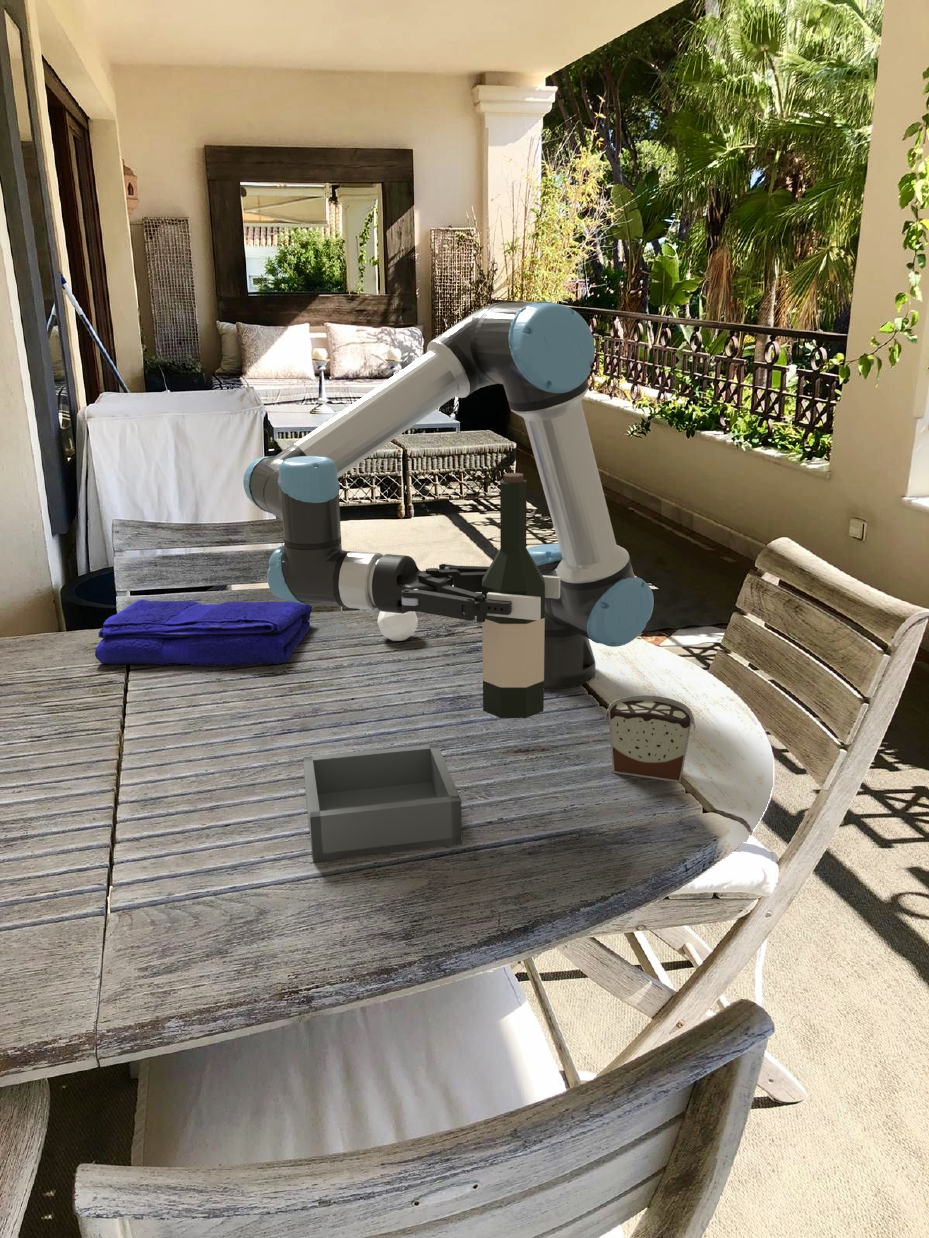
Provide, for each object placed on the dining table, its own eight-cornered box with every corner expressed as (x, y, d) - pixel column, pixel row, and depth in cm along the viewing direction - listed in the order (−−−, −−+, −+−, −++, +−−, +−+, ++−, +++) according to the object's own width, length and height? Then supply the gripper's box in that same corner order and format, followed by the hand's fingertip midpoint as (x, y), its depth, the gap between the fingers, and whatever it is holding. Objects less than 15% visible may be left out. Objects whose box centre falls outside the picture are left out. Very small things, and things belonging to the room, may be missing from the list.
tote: (438, 783, 134) (437, 743, 133) (461, 844, 120) (461, 800, 118) (305, 797, 131) (303, 757, 129) (313, 861, 116) (310, 817, 114)
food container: (696, 764, 139) (701, 699, 136) (691, 784, 134) (696, 716, 130) (610, 752, 143) (613, 689, 140) (602, 771, 138) (604, 705, 134)
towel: (144, 624, 203) (139, 583, 200) (315, 625, 201) (312, 583, 198) (92, 670, 178) (86, 624, 175) (286, 672, 176) (283, 625, 173)
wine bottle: (554, 698, 128) (558, 471, 119) (531, 723, 121) (533, 483, 112) (496, 689, 132) (495, 466, 122) (470, 712, 125) (467, 478, 115)
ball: (391, 649, 193) (386, 611, 196) (427, 639, 190) (421, 600, 193) (372, 642, 186) (367, 602, 189) (409, 631, 184) (403, 591, 186)
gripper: (414, 587, 138) (570, 602, 131) (346, 635, 119) (524, 655, 112) (412, 535, 136) (571, 547, 128) (342, 576, 117) (524, 592, 110)
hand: (549, 597), depth 120 cm, fingers closed on wine bottle, 8 cm apart
